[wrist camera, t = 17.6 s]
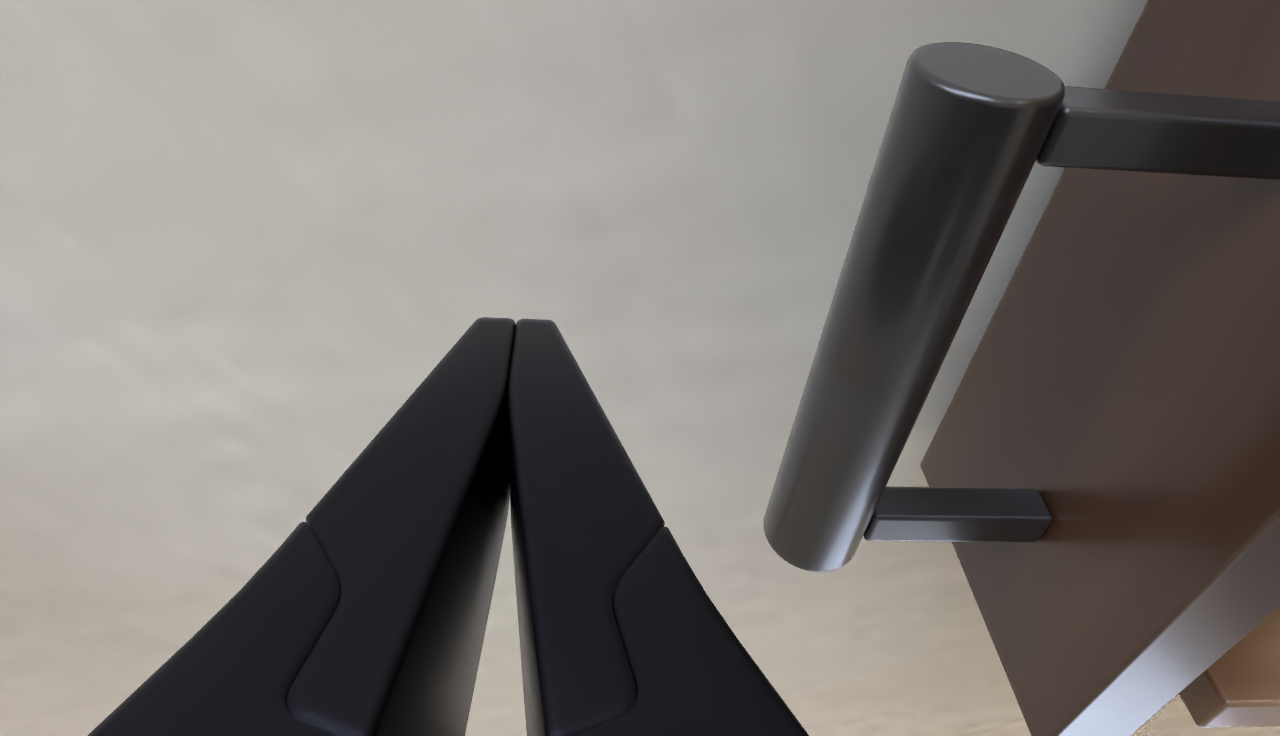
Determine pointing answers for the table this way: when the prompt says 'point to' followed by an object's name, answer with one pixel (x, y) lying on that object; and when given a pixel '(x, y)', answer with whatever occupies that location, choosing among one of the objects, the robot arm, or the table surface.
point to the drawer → (1074, 369)
